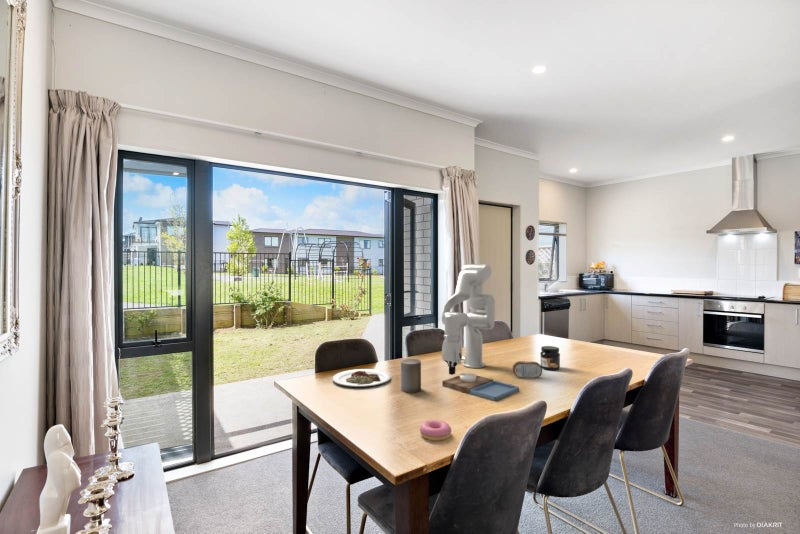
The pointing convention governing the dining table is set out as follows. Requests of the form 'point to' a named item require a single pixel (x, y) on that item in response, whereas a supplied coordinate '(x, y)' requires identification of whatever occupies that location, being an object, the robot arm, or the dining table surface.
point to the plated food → (361, 377)
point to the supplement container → (550, 358)
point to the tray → (494, 390)
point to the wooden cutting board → (464, 383)
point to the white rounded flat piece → (468, 377)
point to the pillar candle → (411, 375)
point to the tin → (527, 369)
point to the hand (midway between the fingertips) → (452, 374)
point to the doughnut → (435, 430)
